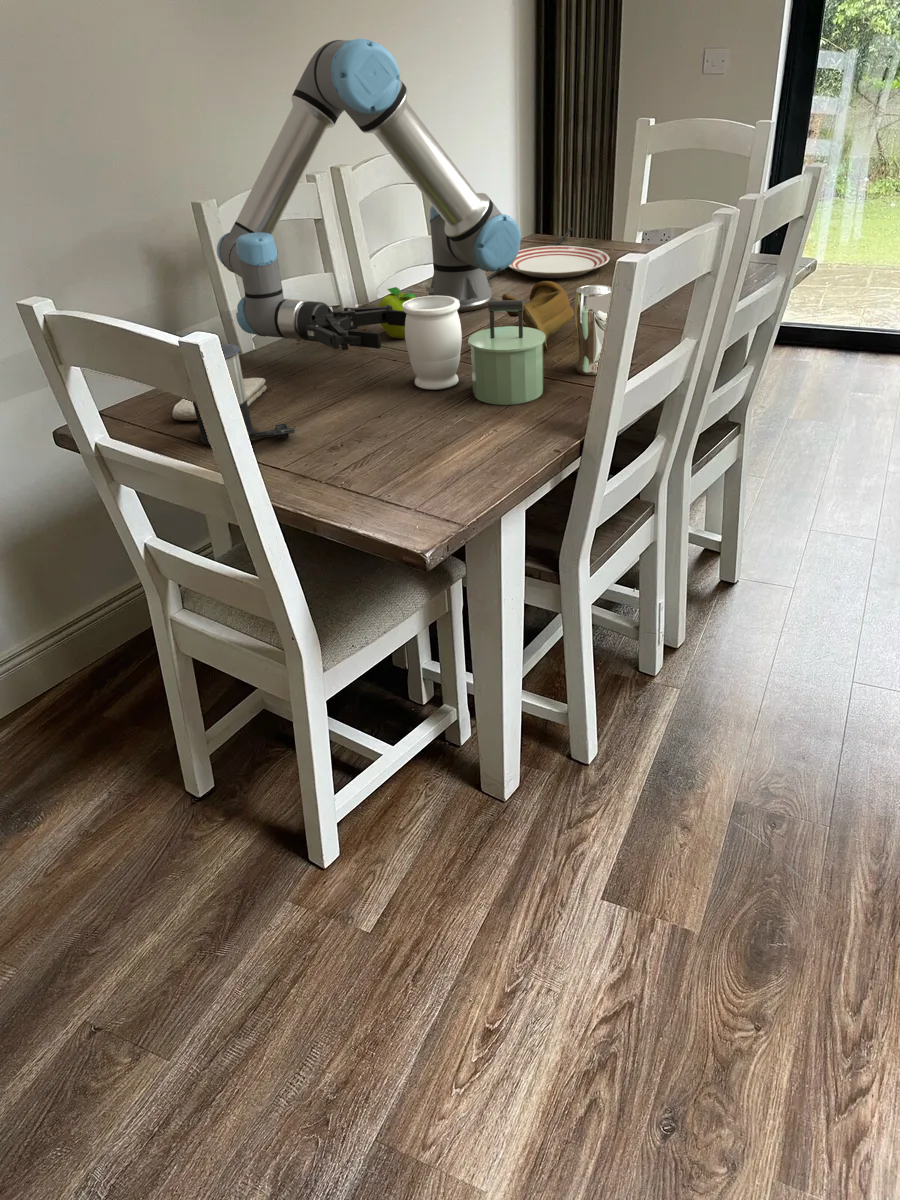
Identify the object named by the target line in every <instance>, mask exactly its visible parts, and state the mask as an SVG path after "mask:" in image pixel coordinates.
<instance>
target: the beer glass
mask: <svg viewBox="0 0 900 1200" xmlns="http://www.w3.org/2000/svg"><path fill="white" fill-rule="evenodd" d="M611 288H613V287H612V286H610V285H605V284H587V285H582V286H580V287H578V288H576V291H575V292H576V293H575V294H576V295H575V305H574V322H575V330H576V337H577V343H578V360H577V363H576V364H577V365H576V371H577V373H579V374H581V375H584V376H597V375H596V373H597V367H598V362H599V358H600V353H601V349H602V344H603V338H604V331H605V324H606V318H607V312H608V306H609V301H610V295H611Z"/></svg>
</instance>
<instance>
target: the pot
mask: <svg viewBox="0 0 900 1200" xmlns="http://www.w3.org/2000/svg"><path fill="white" fill-rule="evenodd" d="M470 357H471V358H470V359H471V378H472V392H473V393H472V394H473V396H474V398H475V399H476V400H478V401H480V402H482V403H485V404H491V405H497V406H498V405H501V406H502V405H503V406H506V405H518V404H525V403H528V402H532V401H535V400H536V399H539V398H540V397H541V396H542V395H543V394H544V387H545V385H544V379H545V378H544V353H543V344H541V345H539V346H537V347H535V348H532V349H528V350H524V351H518V352H505V353H497V352H486V351H481V350H477V349H475V348H473V347H471V346H470Z"/></svg>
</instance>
